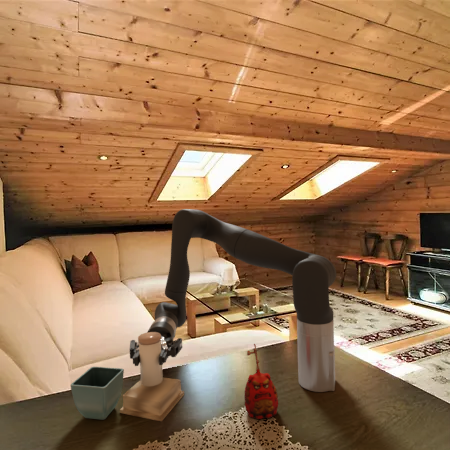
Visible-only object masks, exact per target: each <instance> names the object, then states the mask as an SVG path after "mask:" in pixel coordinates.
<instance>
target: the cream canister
mask: <svg viewBox="0 0 450 450" xmlns="http://www.w3.org/2000/svg"><path fill="white" fill-rule="evenodd" d="M147 332H148V331H147ZM147 332H144V333H141V334H139V335H138V337H137V342H138V343H139V356H140V363H139V370H140V380H141V384H142V385H144V386H155V385H158V384H160V383H161V382H162V381H163V376H164V374H163V365H159V355H160V353H161V334H160V333H158V332H148V333H147Z"/></svg>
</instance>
